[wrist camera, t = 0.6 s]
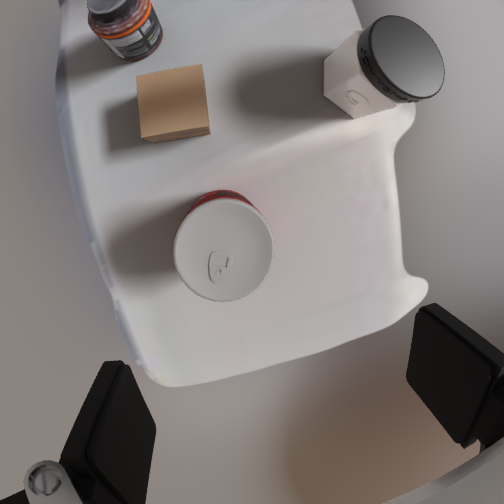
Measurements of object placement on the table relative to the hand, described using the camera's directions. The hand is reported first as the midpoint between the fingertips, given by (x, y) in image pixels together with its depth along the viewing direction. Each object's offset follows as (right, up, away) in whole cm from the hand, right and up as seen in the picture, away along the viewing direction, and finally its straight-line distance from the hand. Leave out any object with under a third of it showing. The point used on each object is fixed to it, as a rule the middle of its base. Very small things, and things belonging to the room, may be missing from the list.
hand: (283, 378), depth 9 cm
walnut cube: (-9, +19, +20) cm, 29 cm away
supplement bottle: (-14, +28, +18) cm, 36 cm away
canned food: (-4, +7, +24) cm, 26 cm away
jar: (+11, +23, +21) cm, 34 cm away
